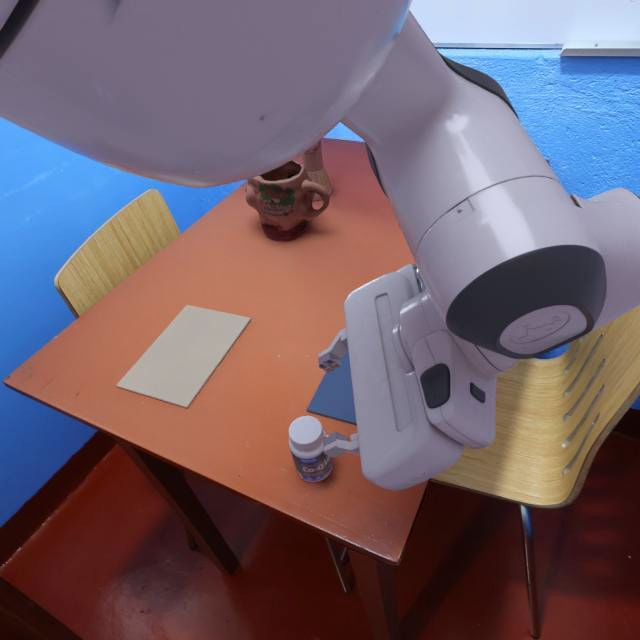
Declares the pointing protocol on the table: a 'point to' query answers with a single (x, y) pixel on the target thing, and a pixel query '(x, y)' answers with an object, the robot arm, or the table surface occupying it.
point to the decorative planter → (285, 200)
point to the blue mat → (335, 394)
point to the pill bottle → (309, 449)
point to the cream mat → (184, 355)
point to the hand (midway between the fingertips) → (324, 403)
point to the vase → (316, 168)
